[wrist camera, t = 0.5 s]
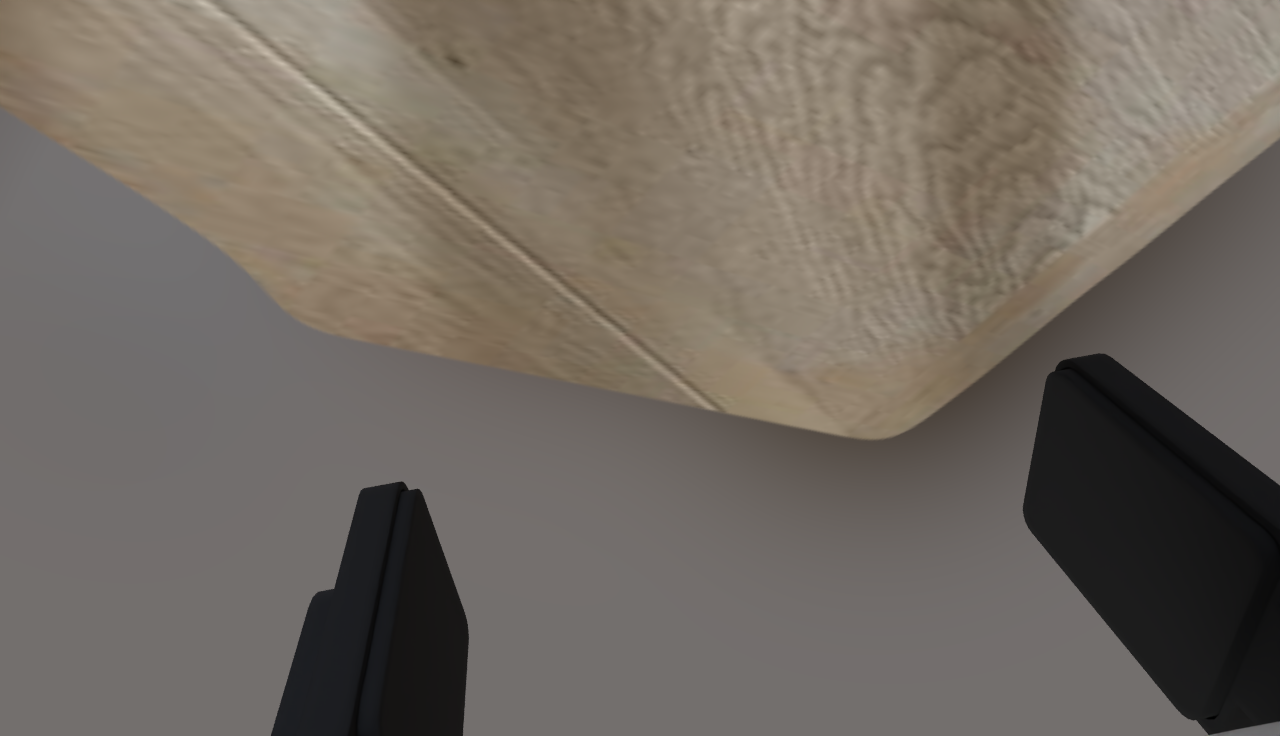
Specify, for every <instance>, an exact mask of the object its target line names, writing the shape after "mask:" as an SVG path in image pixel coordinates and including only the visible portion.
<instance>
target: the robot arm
mask: <svg viewBox="0 0 1280 736" xmlns="http://www.w3.org/2000/svg"><path fill="white" fill-rule="evenodd" d="M1023 514H1024V518H1025V522H1026V524H1027V526H1028V528H1029V529H1030V531H1031V532H1032V533H1033V535H1034V536H1035V537H1036V538H1037V540H1038V541H1039V542H1040V543H1041V544H1042V546H1043V547H1044V548H1045V549H1046V550H1047V552H1048V553H1049V554H1050V555H1051V557H1052V558H1053V559H1054V560H1055V561H1056V563H1057V564H1058V565H1059V566H1060V568H1061V569H1062V570H1063V571H1064V572H1065V574H1066V575H1067V576H1068V577H1069V578H1070V580H1071V581H1072V582H1073V583H1074V585H1075V586H1076V587H1077V588H1078V589H1079V591H1080V592H1081V593H1082V594H1083V596H1084V597H1085V598H1086V599H1087V600H1088V602H1089V603H1090V604H1091V605H1092V606H1093V608H1094V609H1095V610H1096V611H1097V613H1098V614H1099V615H1100V616H1101V617H1102V619H1103V620H1104V621H1105V622H1106V623H1107V625H1108V626H1109V627H1110V628H1111V630H1112V631H1113V632H1114V633H1115V634H1116V636H1117V637H1118V638H1119V639H1120V640H1121V642H1122V643H1123V644H1124V645H1125V647H1126V648H1127V649H1128V650H1129V651H1130V653H1131V654H1132V655H1133V656H1134V657H1135V659H1136V660H1137V661H1138V662H1139V664H1140V665H1141V666H1142V667H1143V669H1144V670H1145V671H1146V672H1147V673H1148V675H1149V676H1150V677H1151V678H1152V679H1153V681H1154V682H1155V683H1156V684H1157V686H1158V687H1159V688H1160V689H1161V690H1162V692H1163V693H1164V694H1165V695H1166V696H1167V698H1168V699H1169V700H1170V701H1171V703H1172V704H1173V705H1174V706H1175V707H1176V709H1177V710H1178V711H1179V712H1180V713H1181V714H1182V715H1184V716H1185V717H1186V718H1188V719H1191V720H1197V721H1198V723H1199V724H1200V725H1201V726H1202V727H1203V728H1204V730H1205V731H1206V732H1207V733H1208V735H1207V736H1280V485H1278V484H1277V483H1276V482H1274V481H1273V480H1272V479H1270V478H1269V477H1268V476H1266V475H1265V474H1264V473H1263V472H1261V471H1260V470H1259V469H1257V468H1256V467H1255V466H1253V465H1252V464H1251V463H1250V462H1248V461H1247V460H1246V459H1244V458H1243V457H1241V456H1240V455H1239V454H1238V453H1236V452H1235V451H1234V450H1232V449H1231V448H1230V447H1228V446H1227V445H1225V443H1223V442H1222V441H1221V440H1219V439H1218V438H1217V437H1215V436H1214V435H1213V434H1211V433H1210V432H1209V431H1207V430H1206V429H1205V428H1204V427H1202V426H1201V425H1200V424H1198V423H1197V422H1196V421H1194V420H1193V419H1192V418H1190V417H1189V416H1188V415H1186V414H1185V413H1184V412H1182V411H1181V410H1180V409H1178V408H1177V407H1176V406H1175V405H1173V404H1172V403H1171V402H1169V401H1168V400H1167V399H1165V398H1164V397H1163V396H1161V395H1160V394H1159V393H1157V392H1156V391H1155V390H1153V389H1152V388H1151V387H1150V386H1148V385H1147V384H1146V383H1144V382H1143V381H1142V380H1140V379H1139V378H1138V377H1136V376H1135V375H1134V374H1133V373H1131V372H1130V371H1129V370H1127V369H1126V368H1124V367H1123V366H1122V365H1121V364H1119V363H1118V362H1117V361H1115V360H1114V359H1113V358H1111V357H1110V356H1108V355H1106V354H1093V355H1088V356H1082V357H1077V358H1071V359H1067V360H1063V361H1061V362H1060V363H1059V364H1058V365H1057V367H1056V370H1055V371H1054V372H1052V373H1050V374H1049V375H1048V377H1047V379H1046V384H1045V389H1044V394H1043V400H1042V405H1041V411H1040V416H1039V422H1038V427H1037V433H1036V438H1035V444H1034V450H1033V454H1032V460H1031V465H1030V471H1029V476H1028V482H1027V487H1026V493H1025V498H1024V504H1023ZM468 643H469V634H468V624H467V619H466V615H465V612H464V609H463V606H462V604H461V601H460V598H459V595H458V593H457V589H456V587H455V584H454V581H453V578H452V576H451V573H450V570H449V567H448V564H447V561H446V559H445V556H444V553H443V550H442V547H441V544H440V542H439V539H438V536H437V533H436V530H435V528H434V525H433V522H432V519H431V516H430V514H429V511H428V508H427V505H426V502H425V499H424V497H423V495H422V492H421V491H420V490H419V489H414V490H408V488H407V486H406V484H405V483H404V482H396V483H391V484H386V485H380V486H375V487H369V488H364V489H362V490H361V492H360V494H359V497H358V501H357V505H356V509H355V512H354V516H353V520H352V524H351V527H350V531H349V535H348V539H347V543H346V547H345V550H344V554H343V558H342V561H341V565H340V569H339V573H338V577H337V580H336V584H335V588H334V589H331V590H326V591H321V592H318V593H316V594H315V596H314V597H313V598H312V600H311V603H310V605H309V608H308V611H307V614H306V618H305V621H304V625H303V628H302V632H301V635H300V638H299V642H298V645H297V649H296V652H295V656H294V659H293V662H292V666H291V669H290V673H289V676H288V679H287V683H286V686H285V690H284V693H283V696H282V700H281V703H280V707H279V710H278V713H277V717H276V720H275V724H274V728H273V731H272V734H271V736H463V722H464V707H465V690H466V674H467V659H468V658H467V657H468Z"/></svg>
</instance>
